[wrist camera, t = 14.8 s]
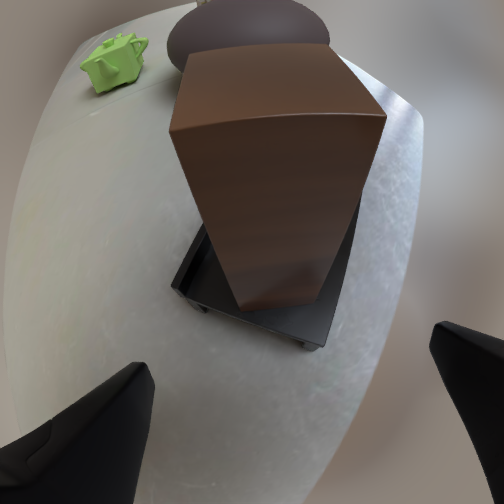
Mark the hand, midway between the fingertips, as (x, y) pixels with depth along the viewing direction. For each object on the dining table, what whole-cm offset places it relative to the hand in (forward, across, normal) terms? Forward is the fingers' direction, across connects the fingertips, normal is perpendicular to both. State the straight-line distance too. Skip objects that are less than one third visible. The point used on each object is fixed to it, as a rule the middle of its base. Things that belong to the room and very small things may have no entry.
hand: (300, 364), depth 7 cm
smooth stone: (+39, -1, -22) cm, 45 cm away
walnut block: (+11, 0, +2) cm, 11 cm away
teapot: (+47, +25, -29) cm, 60 cm away
